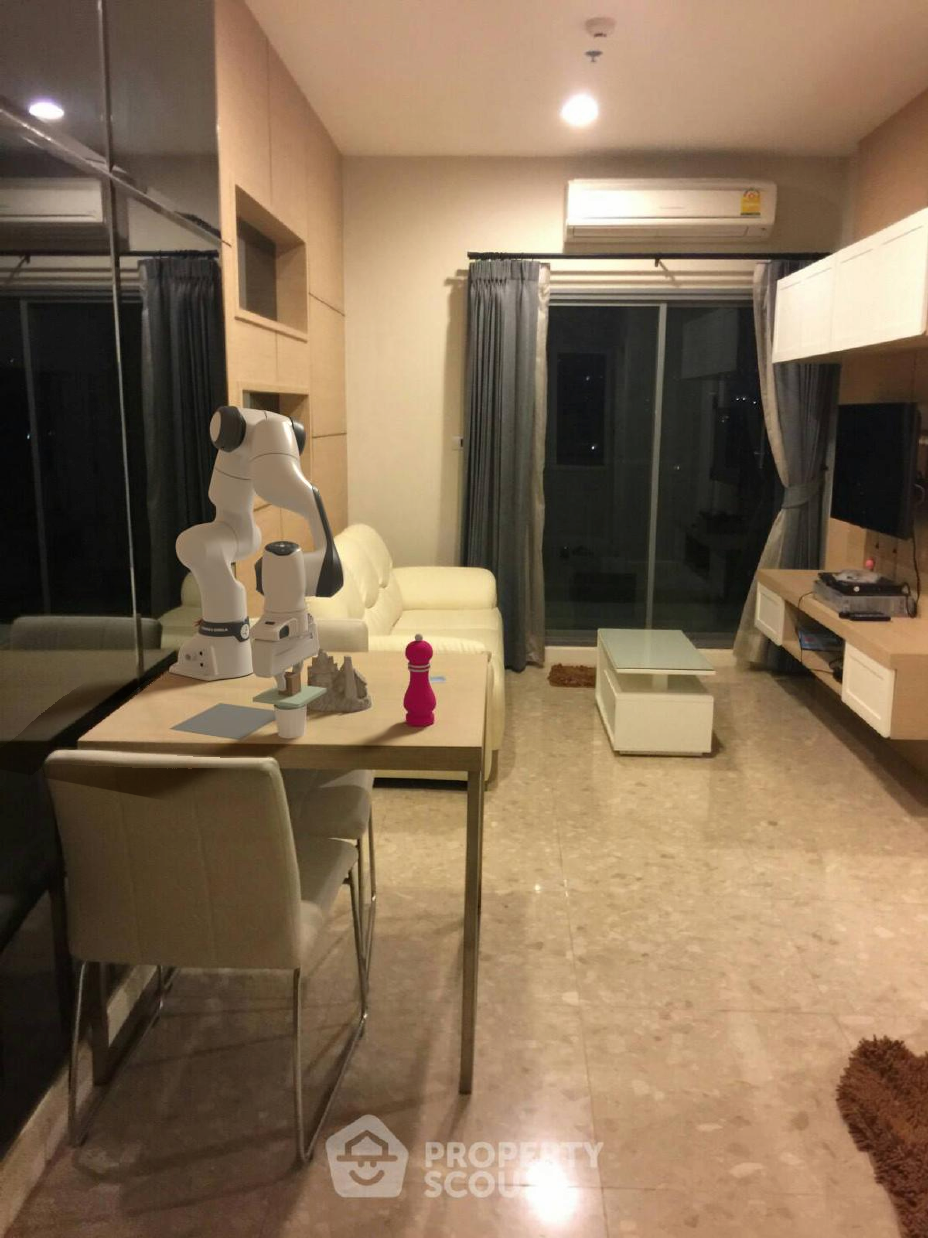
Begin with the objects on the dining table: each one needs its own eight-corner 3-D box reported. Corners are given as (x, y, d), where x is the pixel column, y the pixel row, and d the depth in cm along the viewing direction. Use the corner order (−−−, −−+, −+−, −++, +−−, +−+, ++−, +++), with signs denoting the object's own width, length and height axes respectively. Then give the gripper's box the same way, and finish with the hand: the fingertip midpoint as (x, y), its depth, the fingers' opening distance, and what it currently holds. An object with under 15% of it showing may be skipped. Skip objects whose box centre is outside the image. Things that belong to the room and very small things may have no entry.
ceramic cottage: (369, 712, 208) (365, 647, 205) (297, 715, 208) (292, 650, 205) (376, 694, 223) (372, 633, 221) (308, 697, 223) (304, 636, 221)
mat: (169, 730, 197) (169, 728, 197) (220, 704, 214) (220, 702, 214) (240, 741, 191) (240, 739, 191) (287, 714, 207) (287, 712, 207)
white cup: (277, 730, 198) (275, 699, 196) (309, 728, 198) (308, 698, 196) (273, 741, 191) (271, 709, 189) (306, 740, 191) (305, 708, 190)
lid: (252, 701, 190) (251, 679, 188) (281, 686, 199) (280, 664, 198) (299, 707, 186) (297, 685, 184) (326, 691, 196) (325, 670, 194)
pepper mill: (410, 729, 197) (408, 639, 193) (399, 719, 204) (397, 631, 199) (441, 724, 200) (440, 635, 195) (429, 714, 207) (428, 628, 202)
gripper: (299, 609, 199) (302, 670, 203) (244, 632, 181) (248, 699, 184) (325, 612, 197) (327, 674, 200) (271, 635, 178) (275, 703, 182)
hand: (289, 686), depth 192 cm, fingers closed on lid, 3 cm apart
